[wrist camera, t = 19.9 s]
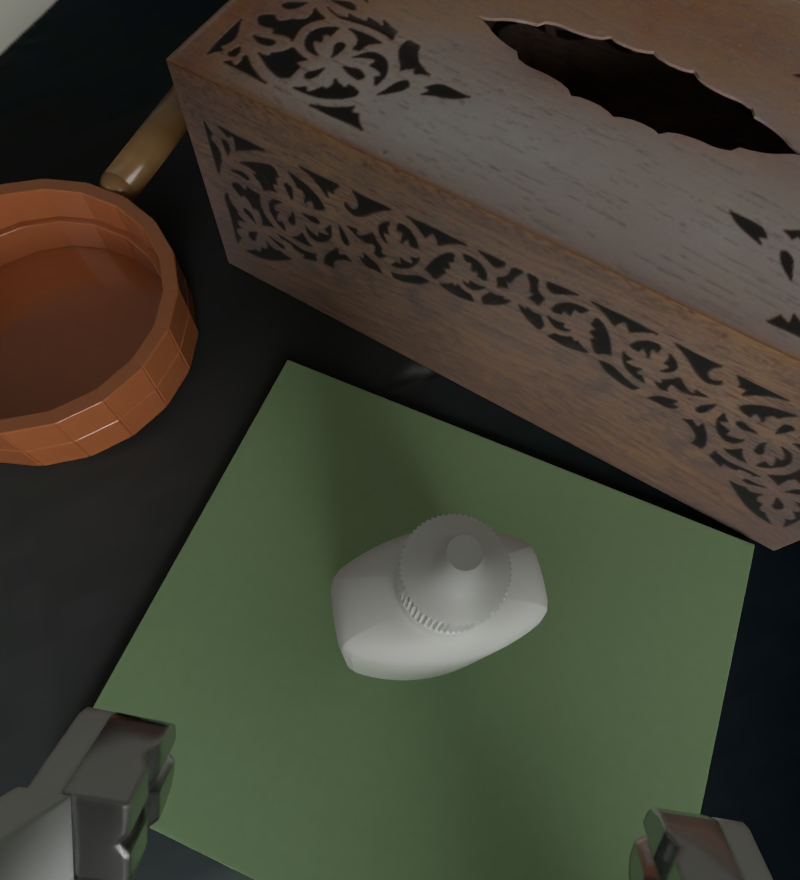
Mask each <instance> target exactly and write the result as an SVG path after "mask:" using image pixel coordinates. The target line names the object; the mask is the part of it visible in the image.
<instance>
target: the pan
mask: <svg viewBox="0 0 800 880" xmlns="http://www.w3.org/2000/svg"><path fill="white" fill-rule="evenodd" d="M197 337H198V326H197V319H196V311H195V304H194V299H193V296H192V294H191V292H190V289H189V287H188V284H187V282H186V280H185V277H184V275H183V273H182V270H181V268H180V266H179V263H178V261H177V258H176V256H175V254H174V251H173V250H172V248H171V246H170V245H169V243H168V241H167V239H166V238H165V236H164V234H163V233H162V231H161V229H160V227H159V226H158V224H157V222H155V220H154V219H152V218H151V217H150V216H149V215H147V214H146V213H145V212H144V211H142V210H141V209H140V208H139V207H137V206H136V205H135V204H134V203H132V202H131V201H130V200H129V199H127V198H125V197H124V196H122V195H119V194H116V193H114V192H111V191H109V190H106V189H103V188H101V187H98V186H95V185H93V184H90V183H86V182H77V181H67V180H56V179H46V178H45V179H35V180H28V181H21V182H14V183H7V184H0V462H2V463H13V464H24V465H35V466H42V465H44V466H45V465H50V464H56V463H61V462H66V461H71V460H76V459H81V458H87V457H89V456H93V455H95V454H97V453H99V452H101V451H103V450H105V449H107V448H109V447H112V446H114V445H116V444H118V443H120V442H122V441H124V440H126V439H128V438H130V437H132V435H135V434H136V433H137V432H138V431H140V430H141V429H142V428H143V427H144V426H145V425H146V424H148V423H149V422H150V421H151V420H152V419H153V418H154V417H156V416H157V415H158V414H159V413H160V412H161V411H162V410H163V409H165V408H166V407H167V405H168V404H169V403H170V401H171V399H172V398H173V396H174V395H175V393H176V391H177V390H178V388H179V387H180V385H181V383H182V382H183V380H184V379H185V377H186V375H187V374H188V372H189V370H190V367H191V363H192V359H193V354H194V350H195V346H196V341H197Z"/></svg>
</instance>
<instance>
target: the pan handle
mask: <svg viewBox="0 0 800 880" xmlns="http://www.w3.org/2000/svg"><path fill="white" fill-rule="evenodd" d="M187 131H188V129H187V125H186V122H185V119H184V116H183V113H182V109H181V106H180V103H179V100H178V96H177V93H176V90H175V87H174V85H173V86H172V88H171V89H170V90H169V91H168V93H167V94H166V95H165V96H164V98H163V99H162V100H161V101H160V103H159V104H158V105H157V106H156V108H155V109H154V110H153V111H152V113H151V114H150V115H149V116H148V118H147V119H146V120H145V121H144V123H143V124H142V125H141V127H140V128H139V129H138V130H137V132H136V133H135V134H134V135H133V137H132V138H131V139H130V140H129V142H128V143H127V144H126V145H125V147H124V148H123V149H122V150H121V152H120V153H119V154H118V155H117V157H116V158H115V159H114V160H113V162H112V163H111V164H110V166H109V167H108V168H107V169H106V171H105V172H104V173H103V175H102V176H101V179H100V187H101V188H103V189H106V190H109V191H111V192H114V193H116V194H119V195H122V196H124V197H125V198H127V199H129V200H130V201H131V202H132V203H133V202H134V201H135V200H136V198H137V197H138V196H139V194H140V193H141V192H142V190H143V189H144V188H145V186H146V185H147V184H148V182H149V181H150V180H151V178H152V177H153V176H154V174H155V173H156V172H157V171H158V169H159V168H160V167H161V165H162V164H163V163H164V161H165V160H166V159H167V157H168V156H169V155H170V153H171V152H172V151H173V149H174V148H175V147H176V145H177V144H178V143H179V141H180V140H181V139H182V137H183V136H184V135H185V133H186V132H187Z"/></svg>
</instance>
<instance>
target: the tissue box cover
mask: <svg viewBox="0 0 800 880" xmlns="http://www.w3.org/2000/svg"><path fill="white" fill-rule="evenodd" d="M166 61H167V64H168V67H169V70H170V74H171V77H172V80H173V83H174V87H175V90H176V93H177V96H178V100H179V103H180V106H181V109H182V113H183V116H184V119H185V122H186V125H187V129H188V132H189V135H190V138H191V142H192V145H193V148H194V151H195V155H196V158H197V161H198V164H199V168H200V171H201V174H202V177H203V181H204V184H205V187H206V190H207V194H208V197H209V200H210V203H211V207H212V210H213V213H214V216H215V220H216V223H217V226H218V229H219V233H220V236H221V239H222V242H223V246H224V249H225V252H226V255H227V259H228V262H229V263H230V264H232V265H234V266H236V267H238V268H239V269H241V270H243V271H245V272H247V273H249V274H251V275H253V276H255V277H257V278H258V279H260V280H262V281H264V282H266V283H268V284H270V285H272V286H274V287H275V288H277V289H279V290H281V291H283V292H285V293H287V294H289V295H291V296H292V297H294V298H296V299H298V300H300V301H302V302H304V303H306V304H308V305H310V306H311V307H313V308H315V309H317V310H319V311H321V312H323V313H325V314H327V315H328V316H330V317H332V318H334V319H336V320H338V321H340V322H342V323H344V324H345V325H347V326H349V327H351V328H353V329H355V330H357V331H359V332H361V333H363V334H364V335H366V336H368V337H370V338H372V339H374V340H376V341H378V342H380V343H381V344H383V345H385V346H387V347H389V348H391V349H393V350H395V351H397V352H398V353H400V354H402V355H404V356H406V357H408V358H410V359H412V360H414V361H416V362H417V363H419V364H421V365H423V366H425V367H427V368H429V369H431V370H433V371H434V372H436V373H438V374H440V375H442V376H444V377H446V378H448V379H450V380H451V381H453V382H455V383H457V384H459V385H461V386H463V387H465V388H467V389H469V390H470V391H472V392H474V393H476V394H478V395H480V396H482V397H484V398H486V399H487V400H489V401H491V402H493V403H495V404H497V405H499V406H501V407H503V408H504V409H506V410H508V411H510V412H512V413H514V414H516V415H518V416H520V417H522V418H523V419H525V420H527V421H529V422H531V423H533V424H535V425H537V426H539V427H540V428H542V429H544V430H546V431H548V432H550V433H552V434H554V435H556V436H557V437H559V438H561V439H563V440H565V441H567V442H569V443H571V444H573V445H575V446H576V447H578V448H580V449H582V450H584V451H586V452H588V453H590V454H592V455H593V456H595V457H597V458H599V459H601V460H603V461H605V462H607V463H609V464H610V465H612V466H614V467H616V468H618V469H620V470H622V471H624V472H626V473H628V474H629V475H631V476H633V477H635V478H637V479H639V480H641V481H643V482H645V483H646V484H648V485H650V486H652V487H654V488H656V489H658V490H660V491H662V492H663V493H665V494H667V495H669V496H671V497H673V498H675V499H677V500H679V501H681V502H682V503H684V504H686V505H688V506H690V507H692V508H694V509H696V510H698V511H699V512H701V513H703V514H705V515H707V516H709V517H711V518H713V519H715V520H716V521H718V522H720V523H722V524H724V525H726V526H728V527H730V528H732V529H734V530H735V531H737V532H739V533H741V534H743V535H745V536H747V537H749V538H751V539H752V540H754V541H756V542H758V543H760V544H762V545H764V546H766V547H768V548H769V549H771V550H773V551H774V550H777V549H779V548H781V547H784V546H786V545H789V544H791V543H794V542H796V541H799V540H800V0H229V1H228V2H227V3H226V4H225V5H224V6H222V7H221V8H220V9H219V10H218V11H217V12H216V13H215V14H214V15H213V16H212V17H211V18H210V19H209V20H207V21H206V22H205V23H204V24H203V25H202V26H201V27H200V28H199V29H198V30H197V31H196V32H195V33H193V34H192V35H191V36H190V37H189V38H188V39H187V40H186V41H185V42H184V43H183V44H182V45H181V46H180V47H178V48H177V49H176V50H175V51H174V52H173V53H172V54H171V55H170V56H169V57H168V58H167V59H166Z"/></svg>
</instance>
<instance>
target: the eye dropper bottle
mask: <svg viewBox="0 0 800 880" xmlns="http://www.w3.org/2000/svg"><path fill="white" fill-rule="evenodd" d="M331 601H332V609H333V617H334V624H335V631H336V636H337V641H338V645H339V648H340V650H341V652H342V655H343V657H344V659H345V661H346V664H347V666H348V667H349V668H350V669H351V670H353V671H354V672H355V673H358V674H361V675H365V676H369V677H373V678H379V679H387V680H419V679H426V678H432V677H437V676H441V675H444V674H448V673H451V672H453V671H456V670H459V669H461V668H464V667H466V666H468V665H470V664H472V663H474V662H476V661H478V660H480V659H482V658H484V657H486V656H488V655H490V654H492V653H494V652H496V651H498V650H500V649H502V648H504V647H506V646H507V645H509V644H511V643H513V642H514V641H516V640H518V639H519V638H521V637H522V636H524V635H525V634H527V633H528V632H529V631H531V630H532V629H533V628H534V627H535V626H537V625H538V624H539V623H540V622H541V620H542V619H543V617H544V615H545V614H546V612H547V603H548V600H547V594H546V589H545V584H544V580H543V576H542V572H541V568H540V565H539V562H538V559H537V556H536V554H535V552H534V551H533V549H532V547H531V546H530V545H529V544H527V543H526V542H524V541H523V540H521V539H518V538H516V537H513V536H510V535H507V534H503V533H499V532H495V531H492V528H490V527H488V525H487V524H483V522H482V521H478V519H477V518H476V519H473V517H472V516H470V517H468V516H467V515H464V516H462V515H461V514H459V515H456V514H455V513H454V514H453V515H451V514H449V513H448V514H447V516H446V515H444V514H442V516H438V515H437V517H436V518H433V517H432V518H431V520H426V523H422V524H421V526H417V529H416V530H413V532H412V533H410V534H407V535H403V536H400V537H398V538H395V539H392V540H389V541H387V542H385V543H382V544H380V545H378V546H376V547H374V548H372V549H370V550H368V551H367V552H365V553H363V554H361V555H360V556H358V557H357V558H355V559H353V560H352V561H350V562H349V563H348V564H346V565H345V566H344V567H342V568H341V569H340V570H339V571H338V573H337V574H336V575H335V577H334V578H333V581H332V586H331Z"/></svg>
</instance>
